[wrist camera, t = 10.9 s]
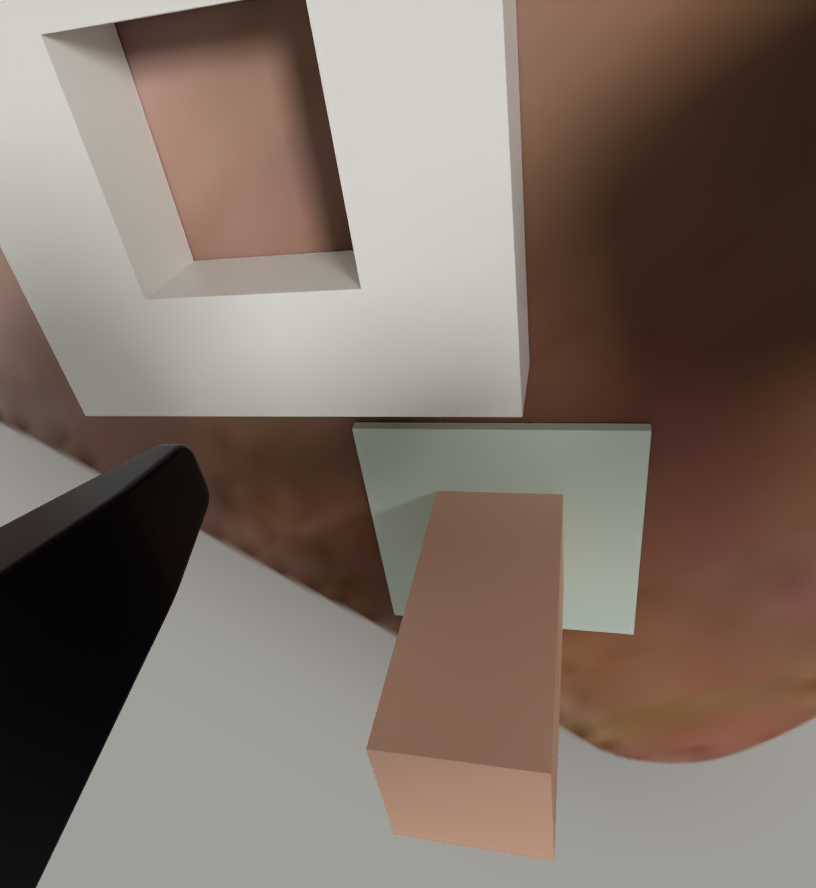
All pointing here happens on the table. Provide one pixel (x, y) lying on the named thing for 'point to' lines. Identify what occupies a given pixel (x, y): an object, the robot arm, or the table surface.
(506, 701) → the peg
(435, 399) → the dock
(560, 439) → the mat
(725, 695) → the table surface
